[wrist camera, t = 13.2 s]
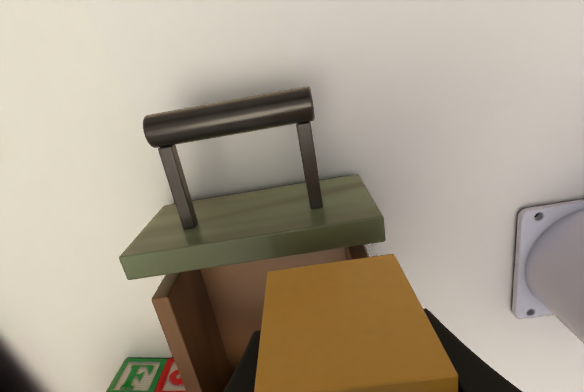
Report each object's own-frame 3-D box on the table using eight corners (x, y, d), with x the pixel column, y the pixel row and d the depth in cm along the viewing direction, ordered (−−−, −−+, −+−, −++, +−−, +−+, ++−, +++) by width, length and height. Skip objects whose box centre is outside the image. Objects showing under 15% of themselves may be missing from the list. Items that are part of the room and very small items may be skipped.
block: (393, 252, 12) (459, 375, 7) (400, 351, 14) (458, 504, 9) (267, 271, 12) (252, 400, 8) (287, 366, 14) (286, 521, 9)
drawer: (132, 112, 18) (68, 133, 13) (347, 73, 18) (371, 79, 12) (220, 378, 25) (200, 464, 20) (378, 357, 24) (403, 440, 19)
